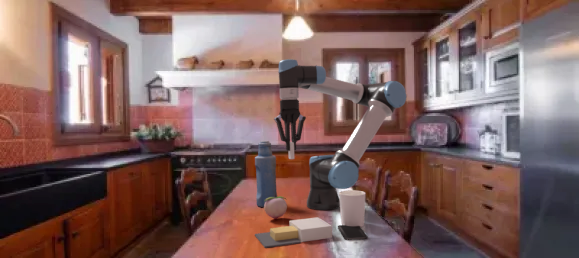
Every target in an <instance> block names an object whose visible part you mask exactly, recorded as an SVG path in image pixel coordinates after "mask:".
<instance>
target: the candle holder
mask: <svg viewBox="0 0 579 258" xmlns="http://www.w3.org/2000/svg"><path fill="white" fill-rule="evenodd" d="M338 196H339V200H340V207H339V211H340V219H341V220H340V222H341V225H346V226H360V227H361V228H362V227H364V225H365V212H366V209H365V208H366V192H365V191H361V190H354V189H353V190H349V189H348V190H341V191H339V192H338Z"/></svg>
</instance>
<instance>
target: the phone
mask: <svg viewBox="0 0 579 258" xmlns="http://www.w3.org/2000/svg"><path fill="white" fill-rule="evenodd" d="M337 229H338V231H339V233H340V235H341V237H342V238H343V240H344V241H362V240H365V241H367V240H368V235H367V234H366V232H365V231H364V230H363V228H362V227H360V226H346V225H342V224H340V225H337Z"/></svg>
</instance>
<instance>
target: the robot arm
mask: <svg viewBox="0 0 579 258" xmlns="http://www.w3.org/2000/svg"><path fill="white" fill-rule="evenodd" d="M278 81H279V83H278V84H279V99H280V101H279V110H280V111H279V114H278V115H277V116H276V117H275V116H274V118H273V120H274V122H275V123H276V127H277V130H278V133H279V137H280V138H279V139H280V140H281V141H282V142H284V143H285V151H288V159H289V160H295V151H297V143H298V141H300V140H301V139H302V133H303V129H304V123H305V120H306V119H307V117H306V116H304V115H302V114H301V112H300V100H299V97H300V95H299V94H300V93H299V89H302V90H303V89H304V90H308V91H312V92H316V93H321V94H325V95H329V96H333V97H337V98H342V99H345V100H348V101H349V100H350V101H352V102H353V104H356V105H360V106H364V107H367V109H366V111H365V113H364V114H363V116H362V117H361V119H360V121H359V122H358V123H357V125H356V126H355V128H354V130H353V131H352V133H351V135H349V138H348V140H347V141H346V143H345V144H344V145H343V147H342V148H341V149H340V150H337V151H335V153H334V154H327V155H326V154H325V155H315V156H314V155H313V156H311V157H310V158H309V165H308V167H309V192H308V196H307V199H306V207H307V208H308V209H312V210H318V211H319V210H324V211H325V210H335V209H339V208H340V200H339V193H338V190H337V189H340V190H346V189H350V188H351V187H353V186H354V185H356V183H357V181H358V179H359V177H360V176H359V175H360V174H359V169H360V166H361V165H360V161H361V158H362V157H363V155H364V153H365V152H366V150H367V149H368V147H369V145H370V143H372V140H373V139H374V138H375V135H376V134H377V132H378V131H379V129H380V127H381V126H382V125H383V123H384V121H385V120H386V118H387V117H391V116H392V115H393V113H394V112H395V110H396V109H399V108H401V107H403V106H404V105H405V103H406V102H407V101H406V100H407V91H406V88H405V86H404V85H403V84H402V83H401V82H399V81H396V80H393V81H392V80H388V81H384V82H378V83H370V84H369V83H368V84H366V83H360V82H357V83H356V84H355V83H351V82H347V81H344V80H341V79H338V78H337V79H336V78H332V77H329V76H327V71H326V69H325V67H324V66H322V65H317V64H316V65H301V64H299V63H298V60H297V59H291V58H289V59H281V60H280V61H279V63H278ZM282 121H283V122H284V123H283V124H284V127H283V124H282ZM297 121H298V123H297Z"/></svg>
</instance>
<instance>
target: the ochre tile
mask: <svg viewBox="0 0 579 258" xmlns="http://www.w3.org/2000/svg"><path fill="white" fill-rule="evenodd" d="M269 232H270V236H271V237H272V238H273V239H274V240H275V241H278V240H286V239H293V238H298V230H297V229H296V228H294V227H293V226H290V225H289V226H286V225H285V226H280V227H279V226H278V227H271V228H269Z"/></svg>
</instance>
